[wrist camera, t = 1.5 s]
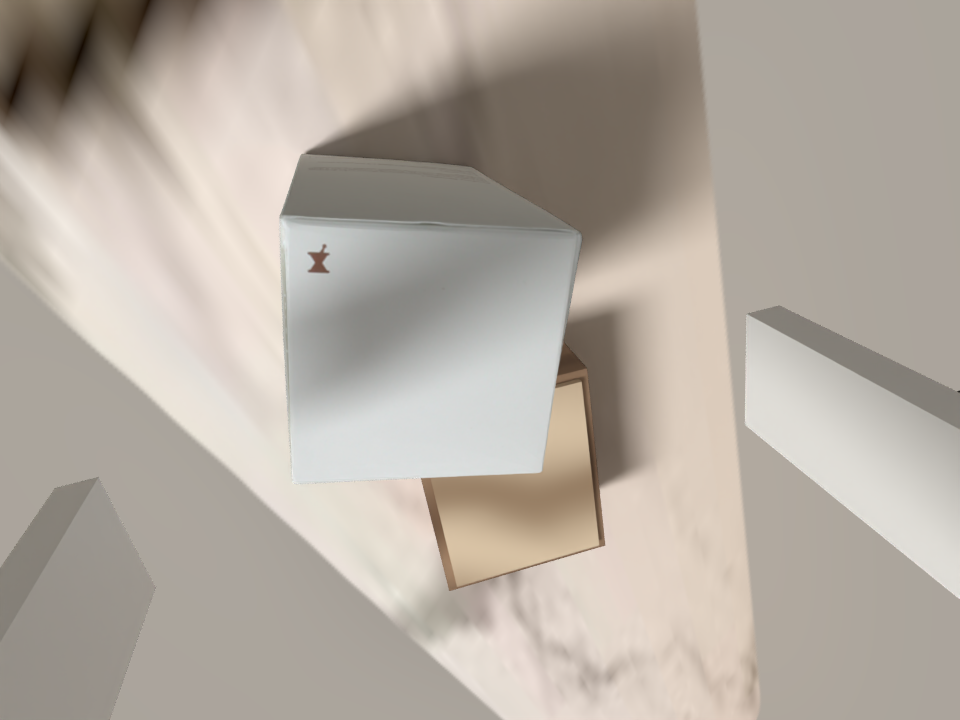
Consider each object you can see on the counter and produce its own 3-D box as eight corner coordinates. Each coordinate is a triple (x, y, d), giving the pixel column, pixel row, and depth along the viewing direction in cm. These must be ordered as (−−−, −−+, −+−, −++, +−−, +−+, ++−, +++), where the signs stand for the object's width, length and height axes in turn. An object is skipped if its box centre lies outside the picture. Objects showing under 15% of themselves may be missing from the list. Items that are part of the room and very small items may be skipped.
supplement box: (299, 325, 28) (278, 491, 17) (298, 148, 25) (273, 204, 14) (463, 329, 30) (545, 482, 18) (479, 164, 27) (589, 226, 15)
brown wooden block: (395, 374, 30) (405, 418, 26) (557, 334, 31) (589, 371, 27) (436, 537, 34) (450, 595, 30) (577, 497, 35) (607, 549, 31)
